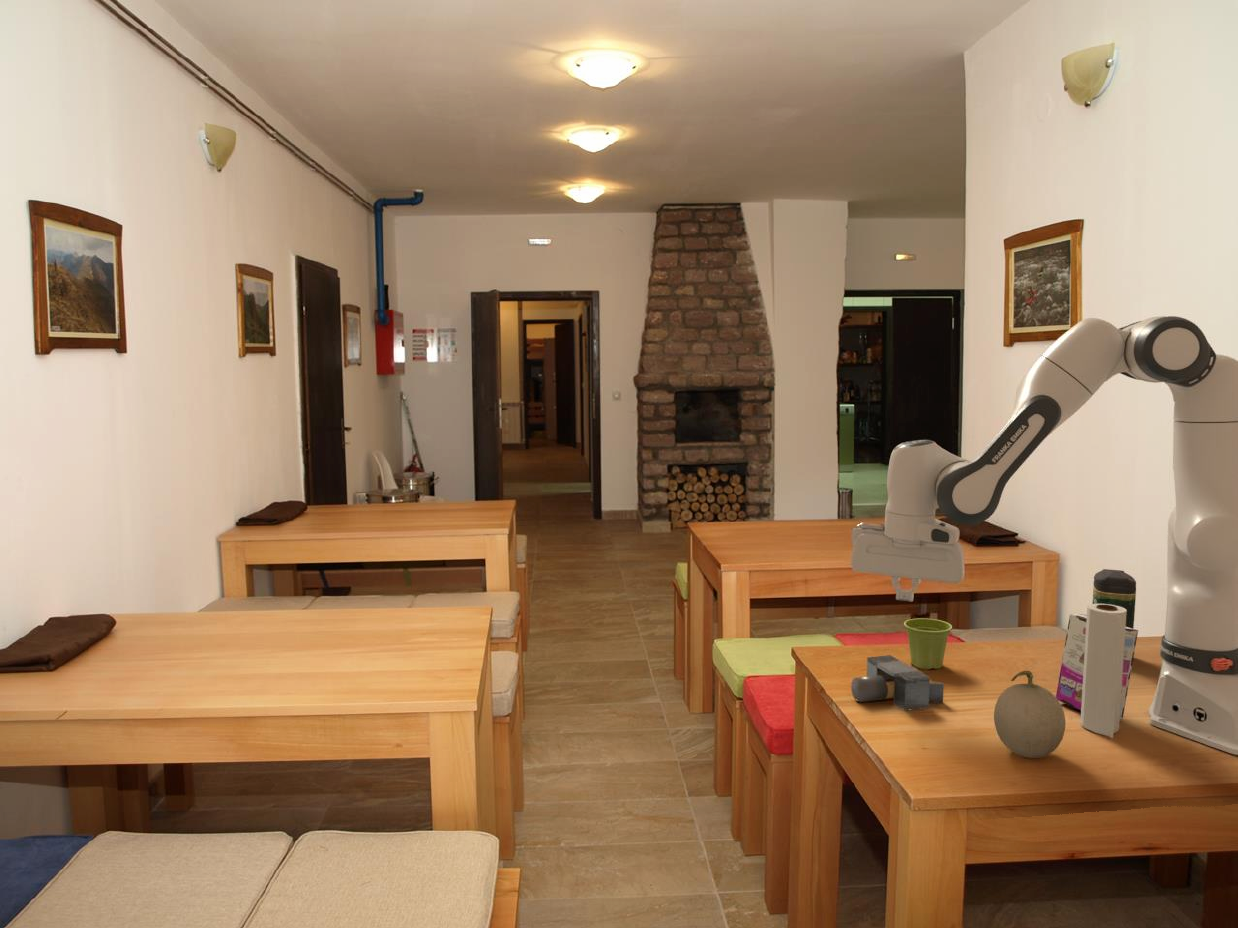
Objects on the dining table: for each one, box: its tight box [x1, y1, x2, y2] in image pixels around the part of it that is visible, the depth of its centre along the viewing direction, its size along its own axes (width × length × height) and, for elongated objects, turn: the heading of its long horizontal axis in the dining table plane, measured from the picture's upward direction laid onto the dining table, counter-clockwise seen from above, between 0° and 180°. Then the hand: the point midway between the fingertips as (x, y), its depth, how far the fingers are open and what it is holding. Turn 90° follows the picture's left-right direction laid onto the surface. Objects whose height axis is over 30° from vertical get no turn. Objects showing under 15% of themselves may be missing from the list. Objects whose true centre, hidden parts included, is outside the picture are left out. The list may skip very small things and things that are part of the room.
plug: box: [850, 675, 895, 703], centre depth 179 cm, size 12×4×4 cm, turn 106°
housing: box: [866, 654, 945, 711], centre depth 180 cm, size 13×9×6 cm
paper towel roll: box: [1080, 603, 1127, 739], centre depth 164 cm, size 7×6×21 cm
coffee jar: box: [1091, 568, 1137, 629], centre depth 201 cm, size 10×8×19 cm
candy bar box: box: [1055, 613, 1139, 721], centre depth 172 cm, size 11×5×16 cm, turn 20°
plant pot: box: [903, 617, 953, 670], centre depth 197 cm, size 9×9×9 cm
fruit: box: [993, 670, 1066, 759], centre depth 154 cm, size 10×12×15 cm
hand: (904, 600), depth 179 cm, fingers closed
